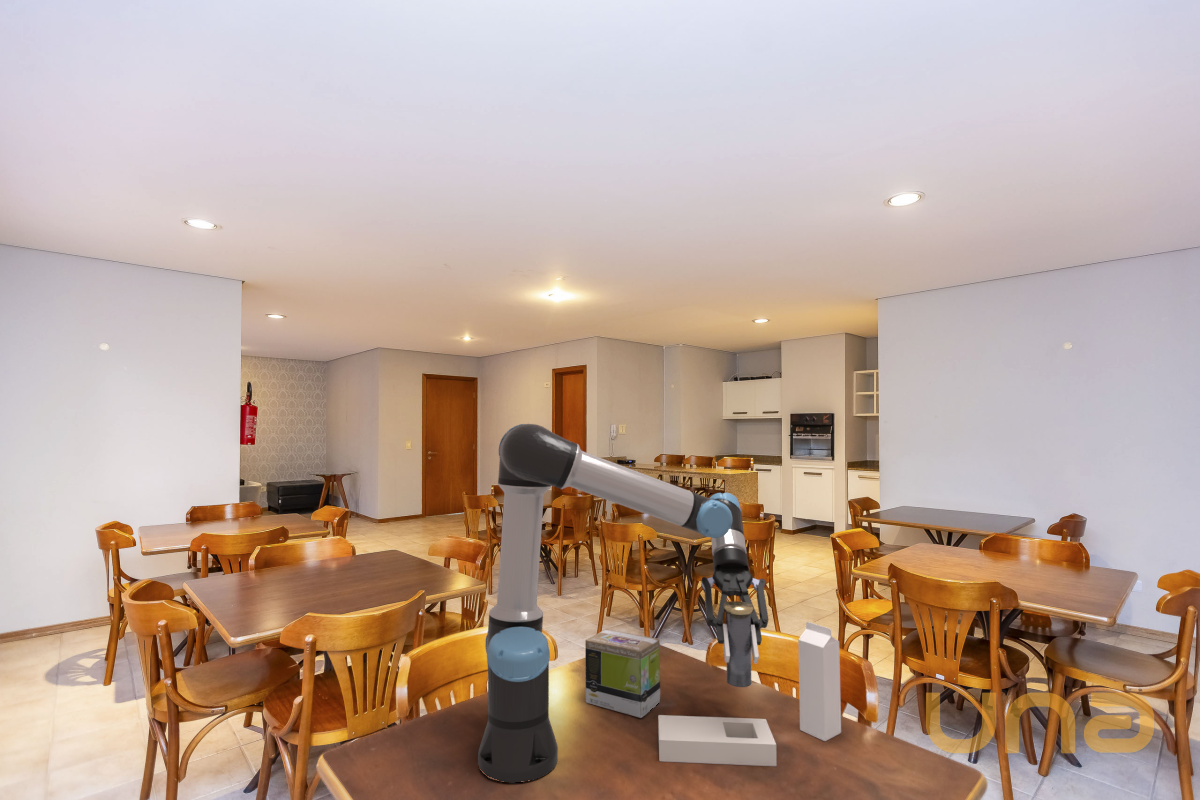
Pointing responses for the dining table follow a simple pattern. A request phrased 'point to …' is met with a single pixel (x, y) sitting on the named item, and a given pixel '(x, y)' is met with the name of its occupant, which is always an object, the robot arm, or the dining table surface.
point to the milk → (819, 682)
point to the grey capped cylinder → (739, 642)
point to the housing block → (716, 740)
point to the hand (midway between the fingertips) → (741, 659)
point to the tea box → (623, 672)
